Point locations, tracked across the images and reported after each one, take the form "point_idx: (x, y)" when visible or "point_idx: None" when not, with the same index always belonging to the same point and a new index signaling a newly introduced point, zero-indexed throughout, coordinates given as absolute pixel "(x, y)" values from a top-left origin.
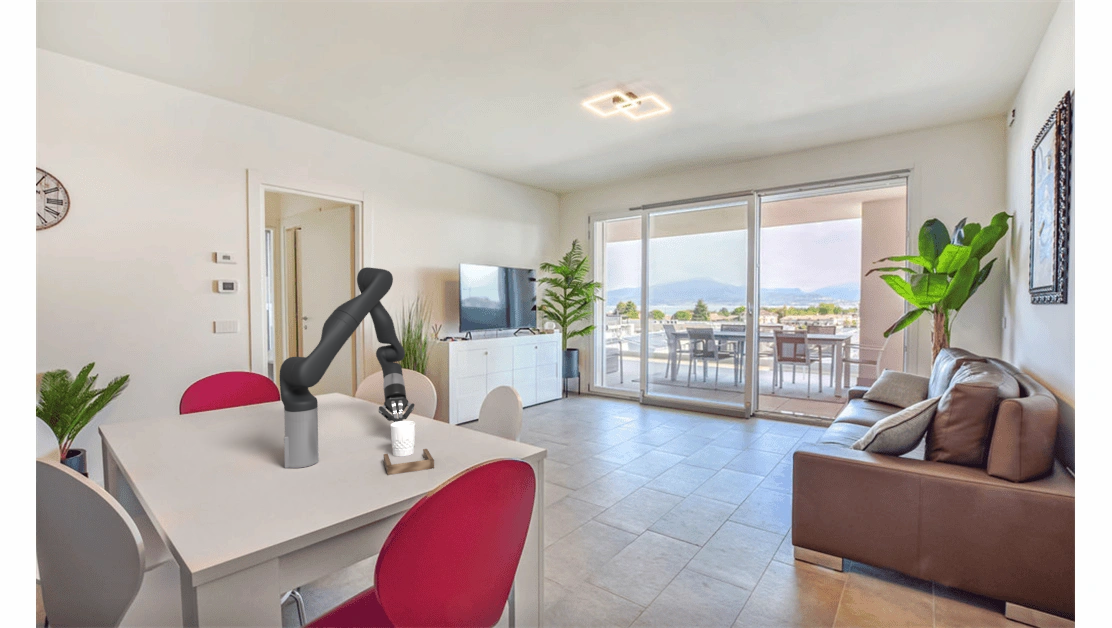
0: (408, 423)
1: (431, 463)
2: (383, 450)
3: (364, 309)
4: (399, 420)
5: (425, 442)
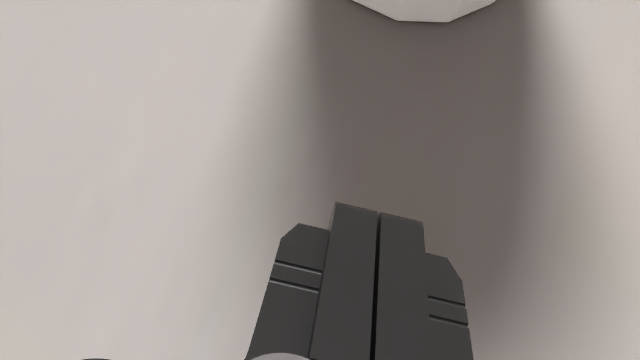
0: None
1: None
2: (575, 153)
3: None
4: (349, 314)
5: (30, 145)
